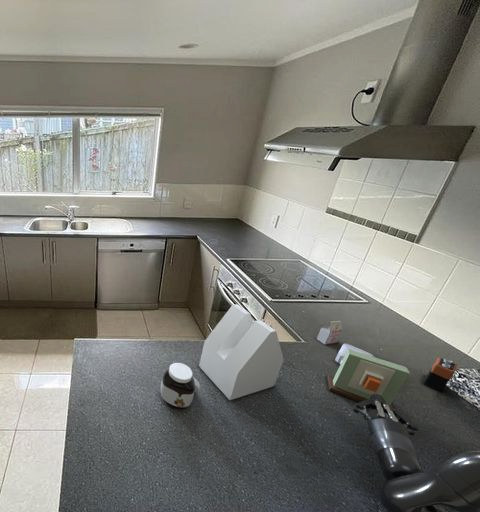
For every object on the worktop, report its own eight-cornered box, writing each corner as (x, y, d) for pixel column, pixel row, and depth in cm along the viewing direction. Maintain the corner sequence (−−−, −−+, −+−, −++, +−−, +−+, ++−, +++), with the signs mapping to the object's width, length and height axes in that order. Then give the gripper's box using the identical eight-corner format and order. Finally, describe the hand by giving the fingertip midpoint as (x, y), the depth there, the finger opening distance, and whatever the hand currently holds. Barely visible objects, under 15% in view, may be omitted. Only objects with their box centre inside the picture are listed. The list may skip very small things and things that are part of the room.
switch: (374, 388, 87) (379, 379, 86) (376, 392, 86) (381, 383, 85) (363, 384, 89) (368, 376, 87) (365, 388, 87) (369, 379, 86)
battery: (443, 384, 100) (458, 362, 96) (440, 392, 96) (456, 370, 92) (426, 376, 103) (440, 354, 99) (422, 383, 99) (436, 362, 96)
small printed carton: (316, 338, 121) (324, 319, 117) (328, 337, 122) (337, 318, 118) (324, 344, 117) (333, 324, 114) (337, 342, 119) (346, 323, 115)
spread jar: (157, 402, 88) (162, 374, 83) (163, 377, 98) (167, 350, 93) (197, 416, 84) (204, 387, 80) (199, 388, 94) (205, 361, 89)
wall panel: (387, 399, 93) (408, 363, 87) (393, 416, 87) (416, 379, 81) (327, 377, 101) (343, 343, 95) (329, 391, 95) (346, 356, 89)
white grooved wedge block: (239, 355, 109) (255, 300, 100) (273, 386, 96) (296, 325, 86) (198, 366, 103) (212, 308, 94) (229, 400, 90) (248, 337, 80)
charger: (330, 368, 105) (339, 351, 114) (362, 384, 98) (369, 365, 107) (334, 358, 103) (344, 342, 112) (367, 373, 96) (375, 355, 105)
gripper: (439, 450, 64) (413, 398, 78) (364, 419, 71) (352, 376, 84) (423, 471, 67) (401, 417, 80) (352, 439, 73) (343, 394, 87)
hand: (376, 396), depth 82 cm, fingers closed
